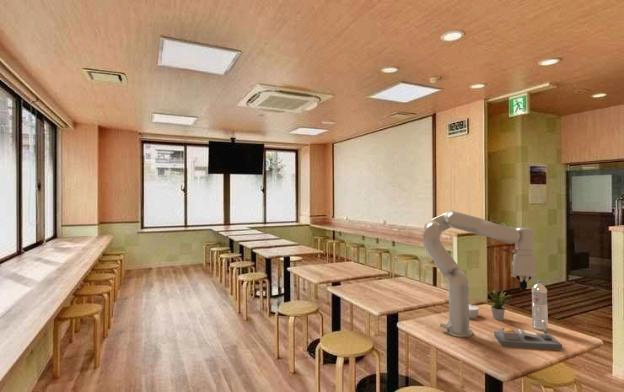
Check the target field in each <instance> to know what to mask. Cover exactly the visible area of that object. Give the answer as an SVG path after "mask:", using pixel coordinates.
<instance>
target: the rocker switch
mask: <svg viewBox="0 0 624 392" xmlns="http://www.w3.org/2000/svg"><path fill="white" fill-rule="evenodd" d="M517 332H519V333H520V334H521V335H526V336H531V337H535V338H537V337H538V335H537V334H536V333H537V332H534V331H532V330H526V329H521V328H518V329H517Z"/></svg>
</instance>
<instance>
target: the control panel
mask: <svg viewBox="0 0 624 392" xmlns="http://www.w3.org/2000/svg"><path fill="white" fill-rule="evenodd" d="M505 328H506V327H499V331H497V330H495V331H493V336H494V338H495V339H496V340H497V342H498V343H499V344H500V346H501V347H506V348H520V349H521V348H522V349H523V348H524V349H538V350H551V351H552V350H553V351H556V350H557V351H562V350H563V344H562V343H561V342H559V340H557V339H556V338H555V337H554V336H553V335H552V334H550V333H548V336H545V335H544V333H537V332H535V333H536V334H537V335H538V337H537V338H535V337H531V336H526V335H521V334H520V333H519V332H518V330H516V329H515V328H514V327H513V328H512V327H509V328H510V329H513V330H514V333H511V332H504V329H505Z"/></svg>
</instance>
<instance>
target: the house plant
mask: <svg viewBox="0 0 624 392" xmlns="http://www.w3.org/2000/svg"><path fill="white" fill-rule="evenodd" d="M498 294H499V295H498ZM505 294H507V292H504V290H501V292H500V293H498V291H497V290H494V289H493V292H492V293H490V292H488V295H489V297H490V298H491V299H492V300H491V299H490V298H489V299H488V298H486V299H485V300H486V301H490V302H491V306H490V309H491V314H492V318H493V319H494V320H496V321H503V320H504V318H505V311H506V308H505V307H503V306H504V305H505V306H508V304H509V300H507V299H508V297H511V294H508V295H506V296H505Z"/></svg>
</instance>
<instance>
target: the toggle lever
mask: <svg viewBox="0 0 624 392" xmlns="http://www.w3.org/2000/svg"><path fill="white" fill-rule="evenodd" d="M541 323H542V324H543V328H544V330H543V334H544V335H545V336H548V334H549V333H548V329H546V321H545V320H542V321H541Z"/></svg>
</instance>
